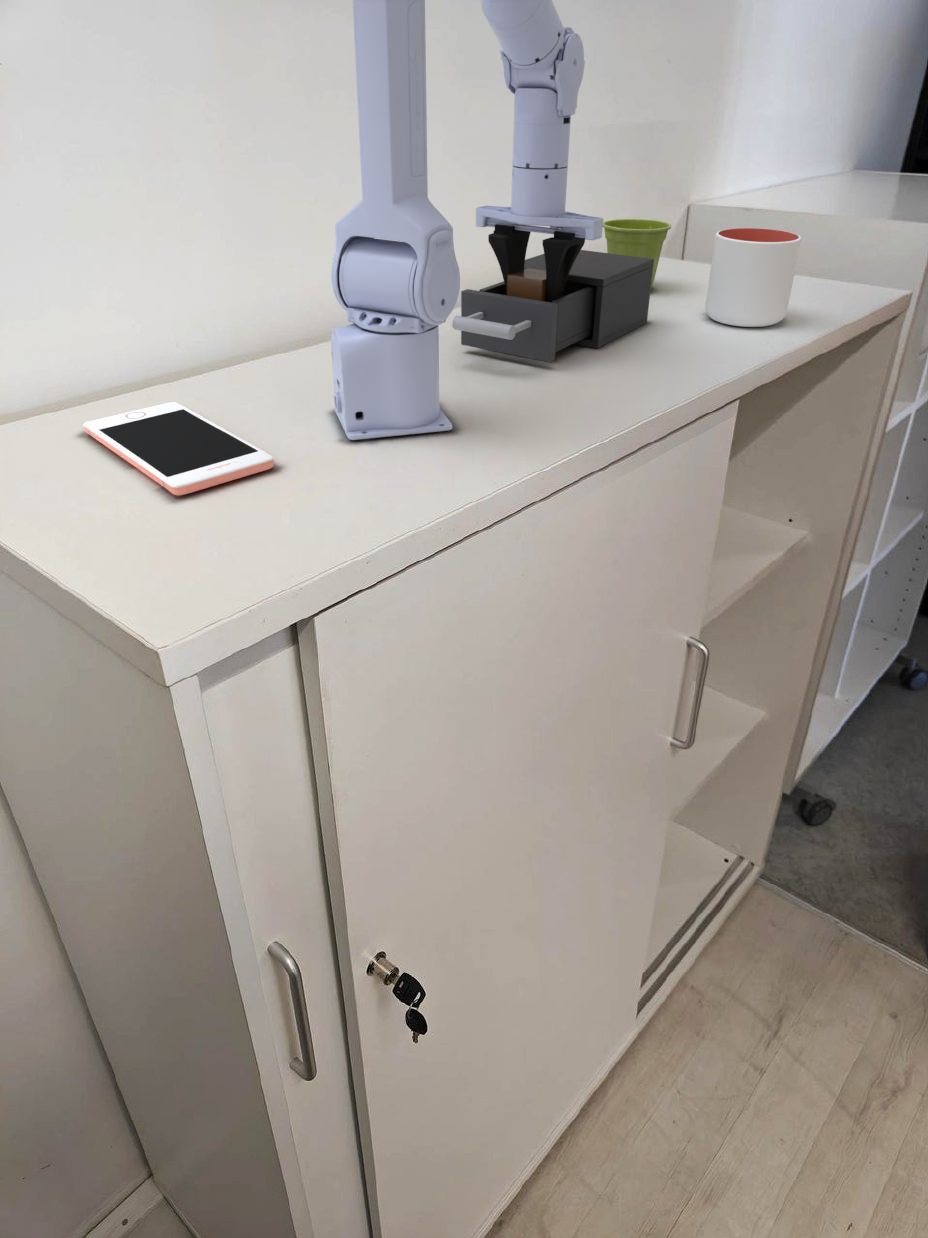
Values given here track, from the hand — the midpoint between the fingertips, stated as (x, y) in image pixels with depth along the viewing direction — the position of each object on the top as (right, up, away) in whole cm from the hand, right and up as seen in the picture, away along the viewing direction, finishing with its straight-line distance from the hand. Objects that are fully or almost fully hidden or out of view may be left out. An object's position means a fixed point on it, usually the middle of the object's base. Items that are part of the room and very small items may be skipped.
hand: (533, 302), depth 99 cm
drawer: (-1, -5, +1) cm, 5 cm away
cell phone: (-32, -21, -23) cm, 45 cm away
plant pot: (+16, +12, +28) cm, 34 cm away
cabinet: (+6, +1, +10) cm, 12 cm away
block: (0, -1, +1) cm, 1 cm away
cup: (+28, +3, +14) cm, 31 cm away
